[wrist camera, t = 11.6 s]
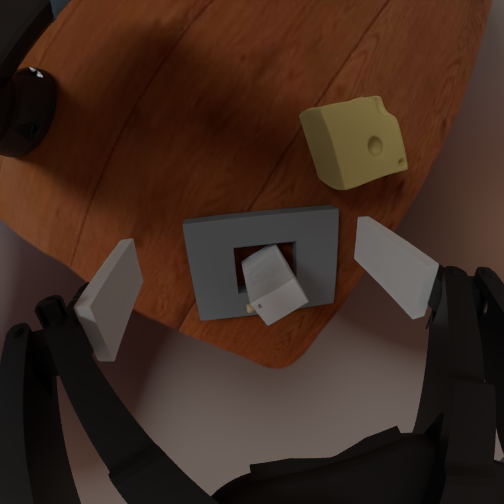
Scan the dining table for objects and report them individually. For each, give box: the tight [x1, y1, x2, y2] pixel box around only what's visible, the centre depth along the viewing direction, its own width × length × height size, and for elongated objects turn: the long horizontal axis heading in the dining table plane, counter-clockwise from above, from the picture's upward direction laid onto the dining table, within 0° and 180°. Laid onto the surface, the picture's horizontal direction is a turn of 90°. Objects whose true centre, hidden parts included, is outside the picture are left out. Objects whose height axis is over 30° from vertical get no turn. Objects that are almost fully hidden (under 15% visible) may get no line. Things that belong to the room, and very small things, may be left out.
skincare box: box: [241, 243, 309, 325], centre depth 37 cm, size 6×4×12 cm
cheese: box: [299, 96, 408, 190], centre depth 32 cm, size 10×11×10 cm
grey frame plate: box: [182, 205, 339, 321], centre depth 41 cm, size 22×16×4 cm
